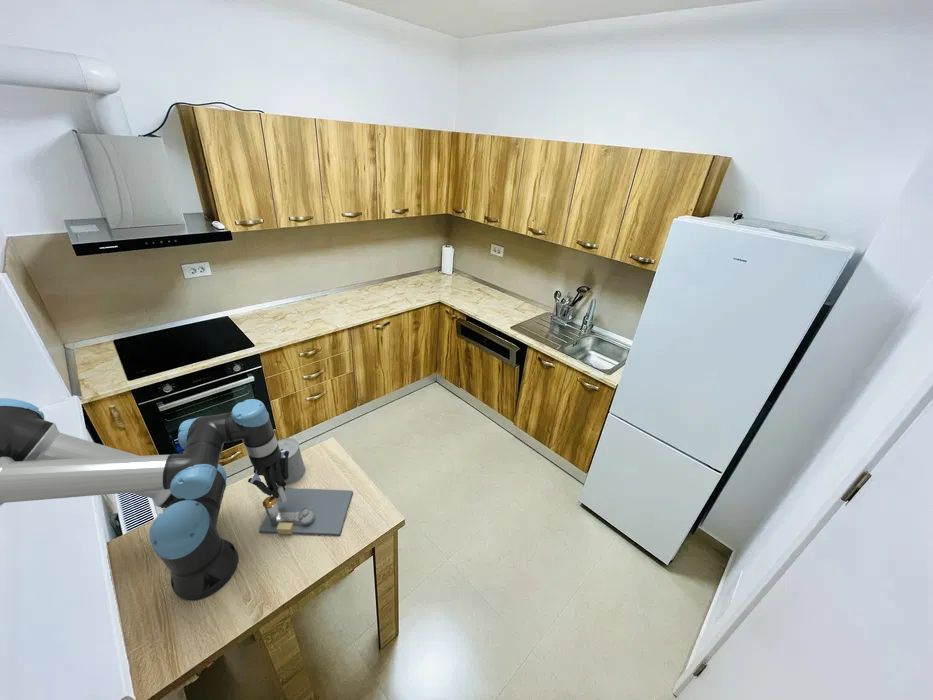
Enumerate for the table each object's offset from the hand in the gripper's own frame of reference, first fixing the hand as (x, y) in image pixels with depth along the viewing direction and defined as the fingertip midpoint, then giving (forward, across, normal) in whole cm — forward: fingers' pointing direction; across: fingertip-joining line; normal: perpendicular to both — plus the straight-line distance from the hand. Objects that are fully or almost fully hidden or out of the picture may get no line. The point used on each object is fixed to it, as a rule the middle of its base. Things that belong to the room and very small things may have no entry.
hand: (281, 500), depth 115 cm
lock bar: (+4, +2, +6) cm, 7 cm away
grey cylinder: (+5, -12, -9) cm, 15 cm away
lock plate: (+5, -2, +7) cm, 9 cm away
